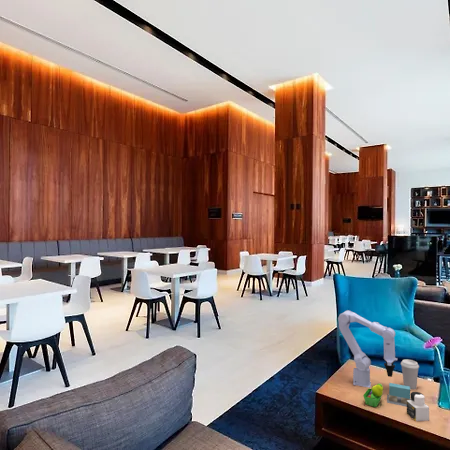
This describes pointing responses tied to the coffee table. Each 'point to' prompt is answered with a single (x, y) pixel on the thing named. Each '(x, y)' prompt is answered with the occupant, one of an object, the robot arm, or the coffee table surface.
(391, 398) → the pillar near arm
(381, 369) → the coffee table surface
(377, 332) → the robot arm
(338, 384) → the coffee table surface
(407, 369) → the coffee cup
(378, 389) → the fruit basket
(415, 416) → the medicine bottle
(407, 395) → the lintel
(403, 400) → the pillar far
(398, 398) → the build plate
